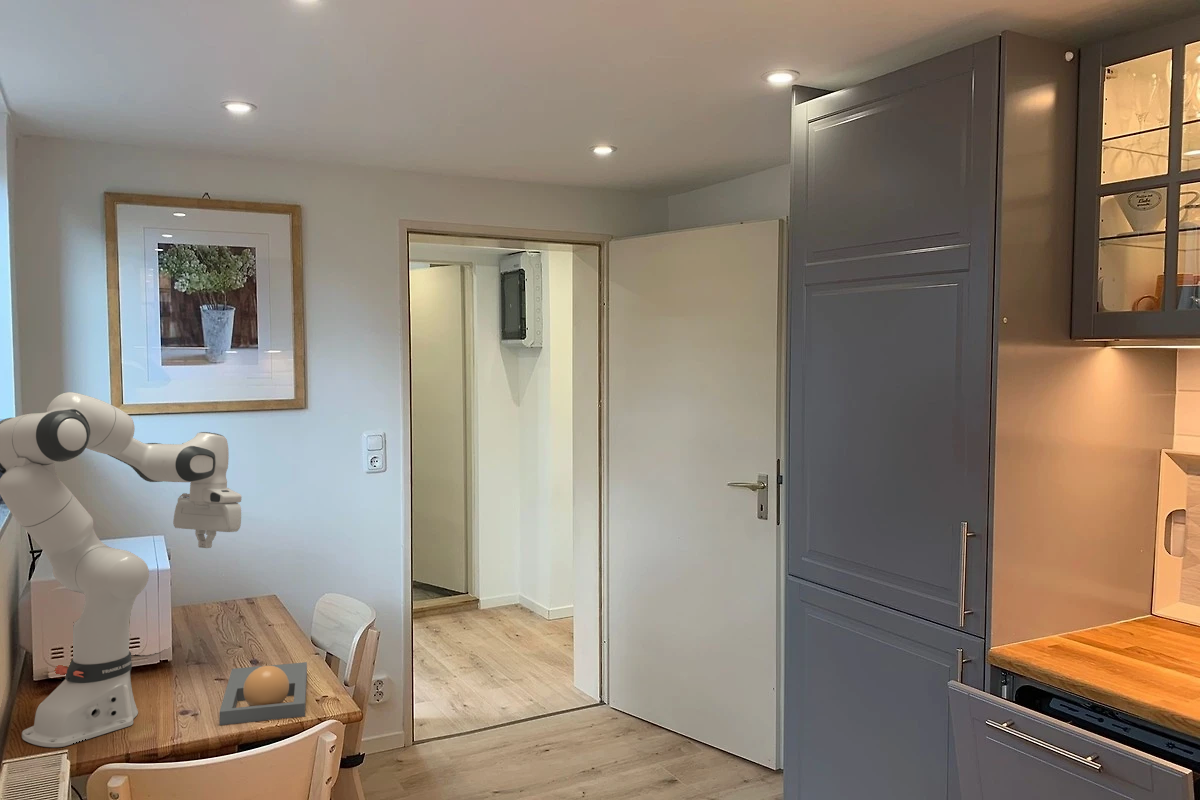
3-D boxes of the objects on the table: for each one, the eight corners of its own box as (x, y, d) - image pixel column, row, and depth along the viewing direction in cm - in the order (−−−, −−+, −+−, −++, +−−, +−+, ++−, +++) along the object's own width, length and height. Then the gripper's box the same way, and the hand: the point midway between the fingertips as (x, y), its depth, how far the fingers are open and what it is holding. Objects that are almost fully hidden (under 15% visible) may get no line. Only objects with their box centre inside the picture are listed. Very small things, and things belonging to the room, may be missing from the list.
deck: (232, 680, 222) (232, 668, 222) (306, 673, 227) (306, 662, 227) (219, 725, 194) (219, 711, 194) (304, 716, 200) (304, 703, 200)
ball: (268, 654, 209) (268, 693, 211) (233, 670, 201) (233, 711, 202) (298, 665, 205) (298, 705, 206) (264, 681, 196) (264, 723, 198)
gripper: (168, 493, 230) (165, 546, 229) (227, 496, 222) (224, 551, 221) (188, 492, 236) (185, 544, 235) (246, 495, 228) (243, 549, 227)
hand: (204, 547), depth 228 cm, fingers closed
